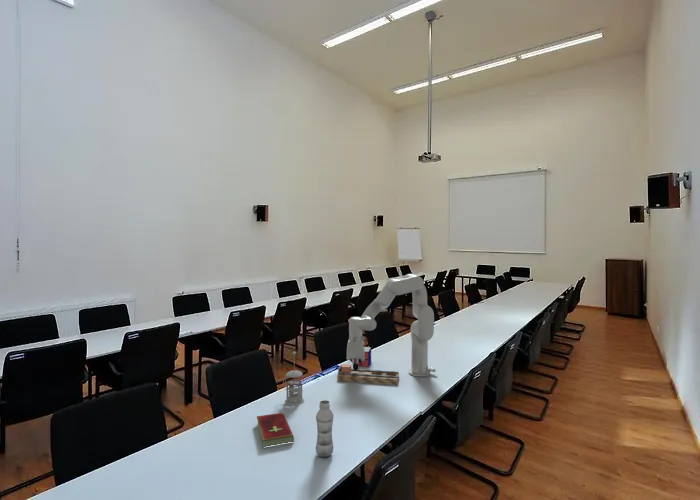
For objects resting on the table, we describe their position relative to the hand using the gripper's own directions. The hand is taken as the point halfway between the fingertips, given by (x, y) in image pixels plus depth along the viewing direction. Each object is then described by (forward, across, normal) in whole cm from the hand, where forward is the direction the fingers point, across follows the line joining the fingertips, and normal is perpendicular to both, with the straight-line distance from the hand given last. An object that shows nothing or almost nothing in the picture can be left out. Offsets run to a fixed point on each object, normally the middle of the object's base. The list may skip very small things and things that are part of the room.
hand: (355, 370), depth 222 cm
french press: (+5, +26, +36) cm, 44 cm away
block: (+2, +5, 0) cm, 6 cm away
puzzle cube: (+5, 0, -24) cm, 24 cm away
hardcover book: (+5, +23, +68) cm, 72 cm away
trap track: (+5, -7, 0) cm, 9 cm away
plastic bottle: (+5, -2, +79) cm, 79 cm away
